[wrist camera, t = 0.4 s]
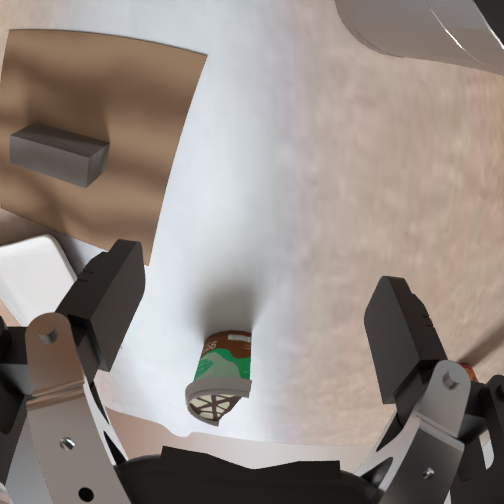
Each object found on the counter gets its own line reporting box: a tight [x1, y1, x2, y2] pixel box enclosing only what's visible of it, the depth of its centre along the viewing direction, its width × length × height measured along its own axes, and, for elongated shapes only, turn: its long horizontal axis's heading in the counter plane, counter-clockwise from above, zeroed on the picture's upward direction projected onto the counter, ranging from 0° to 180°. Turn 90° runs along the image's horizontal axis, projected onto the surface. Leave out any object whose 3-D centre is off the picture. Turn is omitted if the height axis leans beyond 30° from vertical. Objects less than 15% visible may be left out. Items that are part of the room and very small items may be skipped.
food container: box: [185, 330, 252, 427], centre depth 38 cm, size 12×6×10 cm, turn 157°
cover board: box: [0, 30, 207, 266], centre depth 24 cm, size 23×23×5 cm
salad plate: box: [0, 234, 122, 352], centre depth 37 cm, size 21×21×3 cm
